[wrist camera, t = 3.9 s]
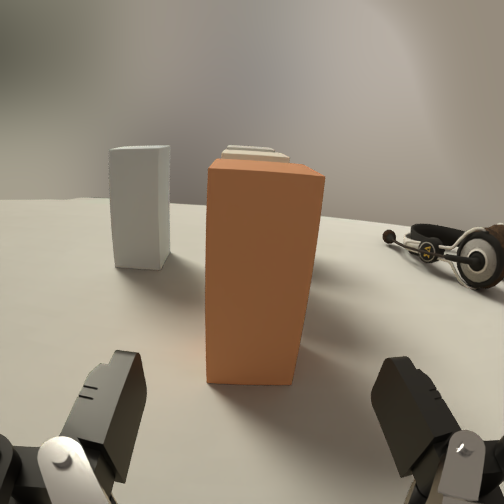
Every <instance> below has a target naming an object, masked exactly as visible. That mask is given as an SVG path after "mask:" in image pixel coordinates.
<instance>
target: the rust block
mask: <svg viewBox="0 0 504 504" xmlns="http://www.w3.org/2000/svg"><path fill="white" fill-rule="evenodd" d="M324 183H325V176H323V175H321V174H320V173H318V172H316V171H314V170H312V169H310V168H309V167H307V166H305V165H303V164H292V163H281V162H268V161H254V160H237V159H216V160H215V161H214V162H213V163H212V165H211V166H210V167H209V168H208V184H207V213H206V264H205V326H206V376H207V383H216V384H239V385H291V384H292V380H293V375H294V370H295V365H296V360H297V355H298V350H299V345H300V340H301V335H302V330H303V324H304V319H305V313H306V308H307V302H308V296H309V290H310V284H311V278H312V272H313V265H314V259H315V252H316V245H317V238H318V231H319V224H320V216H321V209H322V201H323V192H324Z"/></svg>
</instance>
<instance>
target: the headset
mask: <svg viewBox="0 0 504 504" xmlns="http://www.w3.org/2000/svg"><path fill="white" fill-rule="evenodd" d="M383 240H384V242H386V243H388V244H392V243H393V242H395V243H396V244H398V245H400V246H402V247H404V248H405V249H406V250H409V252H410V253H412V254H414V255H417V256H420V258H421V260H422V261H424V262H425V263H433V262H436V261H439V260H441V261H445V262H448V263H449V264H450V265H451V267H452V270H453V272H454V274H455V276H456V278H457V279H458V281H459V282H460V283H461V284H462V285H463V286H465V287H467V288H470V289H473V290H475V289H478V288H485V289H487V288H490V287H493V286H495V285H497V284H498V283H499V282H500V281H501V280H502V279H503V277H504V224H503V223H498V224H497V225H493V226H491V227H489V228H482V227H475V228H473V229H470V230H468V231H461V230H457V229H453V228H448V227H443V226H438V225H431V224H415V225H413V226H411V232H410V233H407V234H405V235H404V242H403V244H402V243H399V242H398V241H396V235H395V233H394V232H393V231H392V230H386V231H385V232H384V233H383ZM448 246H451V247H448ZM455 247H459V248H458V250H457V256H455V255H449V254H446V255H444V251H445V249H447V250H452V249H454V248H455ZM451 261H454V262H457V268H458V270H459V273H460V275H461V277H462V278H463V279H464V280H465V281H466V282H467V283H468V284H470V285H472V287H471V286H468V285H466V284H465V283H464V282H463V281H462V280H461V279H460V277H459V275H458V273H457V271H456V269H455V267H454V265H453V263H452V262H451Z"/></svg>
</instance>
